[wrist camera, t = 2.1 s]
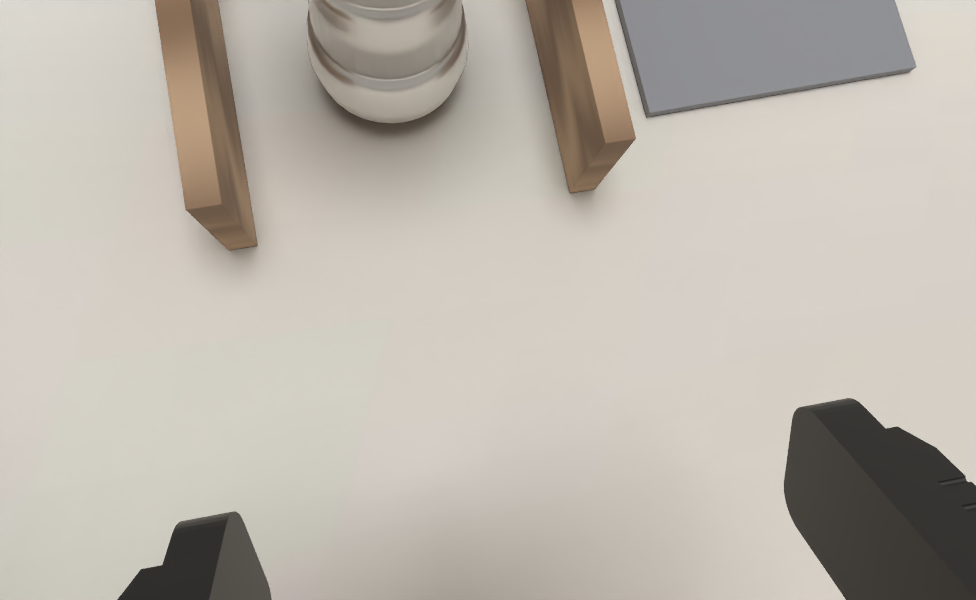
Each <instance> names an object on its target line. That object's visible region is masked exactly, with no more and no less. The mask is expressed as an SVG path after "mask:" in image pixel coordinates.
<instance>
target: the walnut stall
mask: <svg viewBox="0 0 976 600" xmlns="http://www.w3.org/2000/svg"><path fill="white" fill-rule="evenodd" d="M526 4H527V8H528V12H529V17H530V21H531V26H532V30H533V34H534V39H535V43H536V47H537V52H538V56H539V61H540V65H541V69H542V74H543V78H544V82H545V87H546V91H547V96H548V100H549V104H550V109H551V113H552V117H553V122H554V126H555V131H556V135H557V139H558V144H559V148H560V152H561V157H562V161H563V166H564V170H565V174H566V179H567V183H568V187H569V192H570V193H574V192H580V191H586V190H592V189H595V188H596V187H597V186H598V185H599V183H600V182H601V181H602V180H603V178H604V177H605V176H606V175H607V173H608V172H609V171H610V170H611V169H612V167H613V166H614V165H615V164H616V162H617V161H618V160H619V159H620V157H621V156H622V155H623V154H624V153H625V151H626V150H627V149H628V148H629V146H630V145H631V144H632V143H633V141H634V140H635V139H636V137H635V133H634V129H633V125H632V121H631V117H630V112H629V108H628V104H627V100H626V96H625V92H624V88H623V84H622V80H621V76H620V72H619V68H618V63H617V59H616V55H615V51H614V47H613V43H612V39H611V35H610V31H609V27H608V23H607V19H606V14H605V10H604V6H603V2H602V0H526ZM155 5H156V12H157V19H158V26H159V32H160V39H161V46H162V53H163V59H164V66H165V73H166V80H167V86H168V93H169V100H170V107H171V113H172V120H173V127H174V133H175V140H176V147H177V154H178V160H179V167H180V174H181V181H182V187H183V194H184V201H185V208H186V210H187V211H188V212H189V213H190V214H191V215H192V216H193V217H194V218H195V219H196V220H197V221H198V222H199V223H200V224H201V225H203V226H204V227H205V228H206V229H207V230H208V231H209V232H210V233H211V234H212V235H213V236H214V237H215V238H216V239H217V240H218V241H219V242H221V243H222V244H223V245H224V246H225V247H226V248H227V249H228V250H234V249H240V248H246V247H252V246H257V239H256V233H255V227H254V221H253V215H252V209H251V202H250V196H249V190H248V184H247V178H246V171H245V165H244V159H243V153H242V147H241V141H240V134H239V128H238V122H237V116H236V110H235V104H234V97H233V91H232V85H231V79H230V73H229V67H228V60H227V54H226V48H225V42H224V36H223V30H222V23H221V17H220V11H219V5H218V0H155Z"/></svg>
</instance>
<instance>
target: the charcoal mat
mask: <svg viewBox="0 0 976 600" xmlns="http://www.w3.org/2000/svg"><path fill="white" fill-rule="evenodd" d="M615 1H616V5H617V9H618V13H619V16H620V20H621V24H622V28H623V31H624V35H625V39H626V43H627V46H628V50H629V54H630V58H631V61H632V65H633V69H634V73H635V76H636V80H637V84H638V88H639V91H640V95H641V99H642V103H643V106H644V110H645V114H646V117H650V116H656V115H662V114H667V113H673V112H679V111H685V110H691V109H697V108H702V107H708V106H714V105H720V104H726V103H731V102H737V101H743V100H749V99H755V98H760V97H766V96H772V95H778V94H784V93H789V92H795V91H801V90H807V89H813V88H818V87H824V86H830V85H836V84H842V83H847V82H853V81H859V80H865V79H871V78H876V77H882V76H888V75H894V74H900V73H905V72H910V71H911V70H913V69H914V68H916V64H915V61H914V58H913V55H912V52H911V49H910V46H909V43H908V40H907V37H906V33H905V30H904V27H903V24H902V21H901V18H900V15H899V12H898V9H897V6H896V3H895V0H615Z"/></svg>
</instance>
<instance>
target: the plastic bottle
mask: <svg viewBox="0 0 976 600" xmlns="http://www.w3.org/2000/svg"><path fill="white" fill-rule="evenodd" d="M308 3H309V11H308V18H307V43H308V54H309V58H310V61H311V64H312V67H313V70H314V71H315V73H316V75H317V77H318V78H319V80H320V82H321V83H322V84H323V86H324V87H325V89H326V90H327V92H328V93H329V94H330V95H331V96H332V97H333V99H334V100H335V101H336V102H337V103H338V104H339V105H341V106H342V107H343V108H345V109H346V110H347V111H349V112H350V113H352V114H354V115H356V116H358V117H360V118H363V119H367V120H370V121H374V122H380V123H402V122H407V121H411V120H415V119H418V118H420V117H422V116H425V115H427V114H429V113H431V112H432V111H433V110H435V109H436V108H437V107H439V106H440V105H441V104H442V103H443V102H444V101H445V100H446V99H447V98H448V97H449V95H450V94H451V92H452V90H453V89H454V87H455V85H456V84H457V82H458V80H459V78H460V76H461V74H462V72H463V69H464V66H465V63H466V60H467V53H468V37H467V27H466V19H465V13H464V9H463V6H462V0H308Z"/></svg>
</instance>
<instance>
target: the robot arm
mask: <svg viewBox="0 0 976 600" xmlns="http://www.w3.org/2000/svg"><path fill="white" fill-rule="evenodd" d="M784 494H785V499H786V504H787V507H788V510H789V513H790V515H791V518H792V520H793V522H794V524H795V526H796V527H797V529H798V530H799V532H800V533H801V535H802V536H803V538H804V539H805V540H806V542H807V543H808V545H809V546H810V548H811V549H812V551H813V552H814V554H815V555H816V556H817V558H818V559H819V561H820V562H821V564H822V565H823V567H824V568H825V570H826V571H827V572H828V574H829V575H830V577H831V578H832V580H833V581H834V583H835V584H836V586H837V587H838V589H839V590H840V591H841V593H842V594H843V596H844V597H845V599H846V600H976V486H975V485H974V484H973V483H972V482H967V481H966V478H965V475H964V474H963V473H962V472H961V471H960V470H959V469H958V468H957V467H955V466H954V465H953V464H952V463H951V462H950V461H949V460H948V459H947V458H946V457H945V456H944V455H943V454H942V453H941V452H940V451H939V450H938V449H937V448H935V447H933V446H932V445H930V444H928V443H926V442H924V441H923V440H921V439H919V438H917V437H915V436H913V435H912V434H910V433H908V432H906V431H904V430H903V429H901V428H899V427H893V428H887V429H885V428H884V427H883V426H882V425H881V424H880V423H879V422H878V421H877V420H876V418H875V417H874V416H873V415H872V414H871V413H870V412H869V411H868V410H867V409H866V408H865V407H864V406H863V405H862V404H860V403H859V402H858V401H856V400H854V399H851V398H847V399H842V400H836V401H831V402H826V403H820V404H815V405H810V406H804V407H800V408H798V409H797V410H796V411H795V412H794V415H793V419H792V426H791V433H790V441H789V449H788V456H787V464H786V472H785V479H784ZM118 600H271V594H270V589H269V585H268V582H267V579H266V577H265V574H264V572H263V569H262V567H261V564H260V562H259V559H258V557H257V554H256V552H255V549H254V547H253V544H252V542H251V539H250V537H249V534H248V532H247V529H246V527H245V524H244V522H243V520H242V518H241V516H240V515H239V514H238V513H237V512H229V513H224V514H218V515H213V516H208V517H202V518H197V519H192V520H186V521H181V522H179V523H178V524H177V525H176V527H175V529H174V531H173V533H172V536H171V540H170V543H169V546H168V549H167V552H166V556H165V559H164V562H163V565H161V566H156V567H151V568H146V569H141V570H140V571H139V573H138V574H137V575H136V577H135V578H134V579H133V580H132V582H131V583H130V584H129V586H128V587H127V588H126V589H125V591H124V592H123V593H122V595H121V596H120V597H119V599H118Z"/></svg>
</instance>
